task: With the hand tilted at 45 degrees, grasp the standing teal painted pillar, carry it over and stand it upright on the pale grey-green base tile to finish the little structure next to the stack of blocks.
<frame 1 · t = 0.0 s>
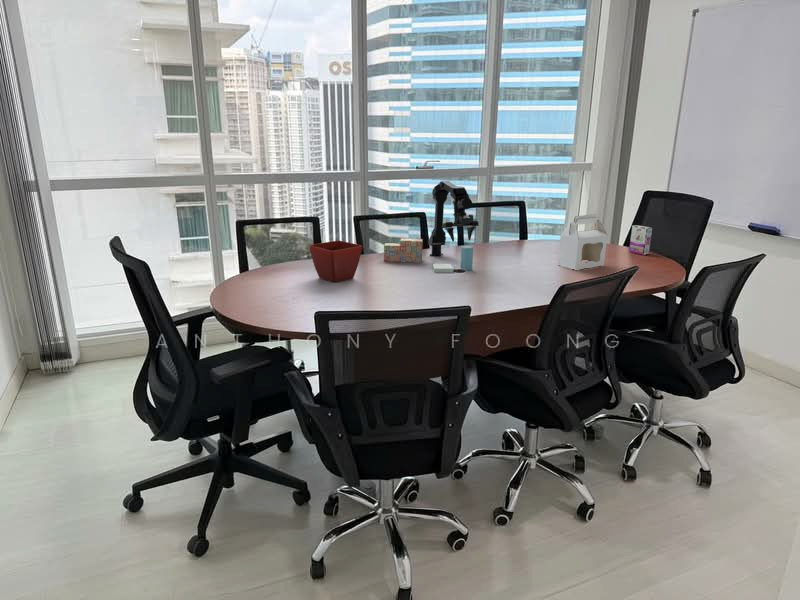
hand: (461, 240, 301), 15 cm above the table, tool pointing down, fingers open, 9 cm apart
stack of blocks: (403, 261, 324), on the table
gable box: (580, 266, 315), on the table
candy bar box: (638, 253, 346), on the table
base tile: (442, 269, 304), on the table
plant pot: (336, 278, 287), on the table
teal pillar: (466, 269, 307), on the table
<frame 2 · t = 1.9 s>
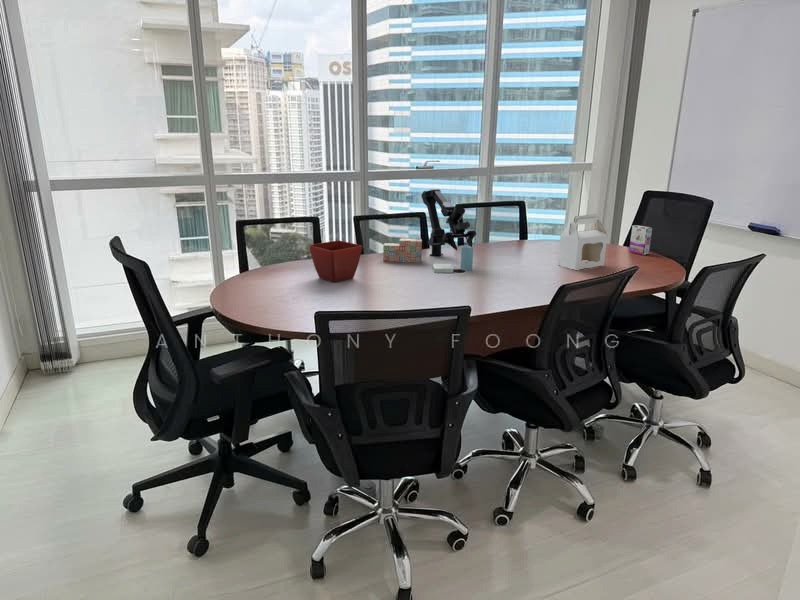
hand: (464, 249, 306), 10 cm above the table, tool tilted 45°, fingers open, 9 cm apart
nothing on the table moved.
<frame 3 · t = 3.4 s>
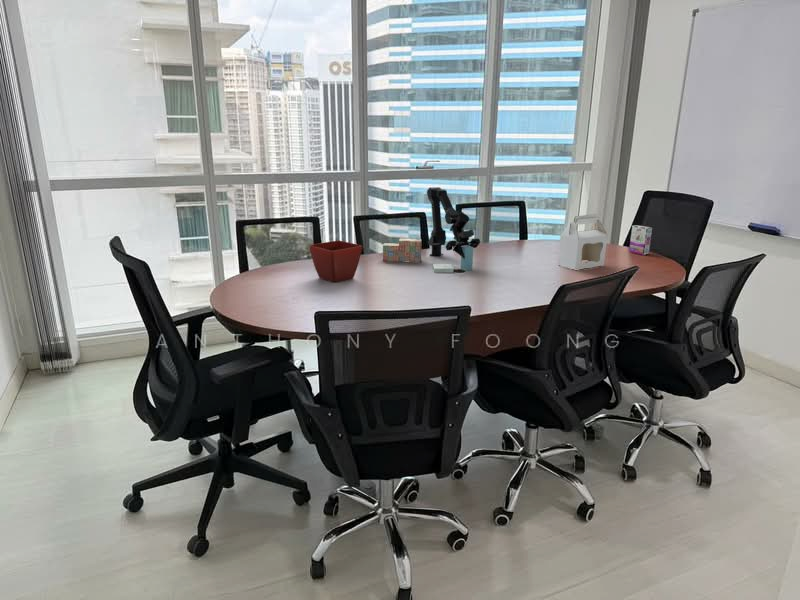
hand: (468, 257, 303), 7 cm above the table, tool tilted 45°, fingers closed on teal pillar, 4 cm apart
teal pillar: (466, 268, 307), on the table, touching gripper
everything else where it was.
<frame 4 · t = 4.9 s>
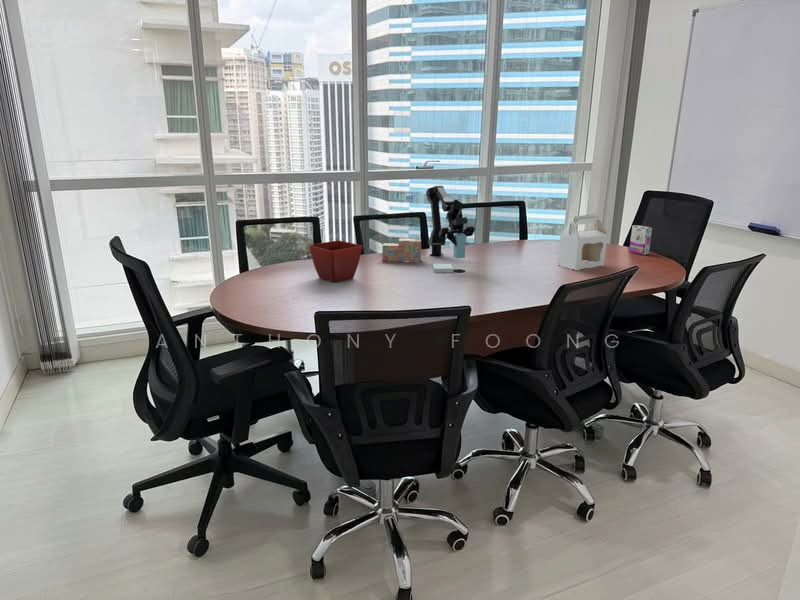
hand: (460, 245, 300), 13 cm above the table, tool tilted 45°, fingers closed on teal pillar, 4 cm apart
teal pillar: (459, 257, 303), point 7 cm above the table, touching gripper
everything else where it was.
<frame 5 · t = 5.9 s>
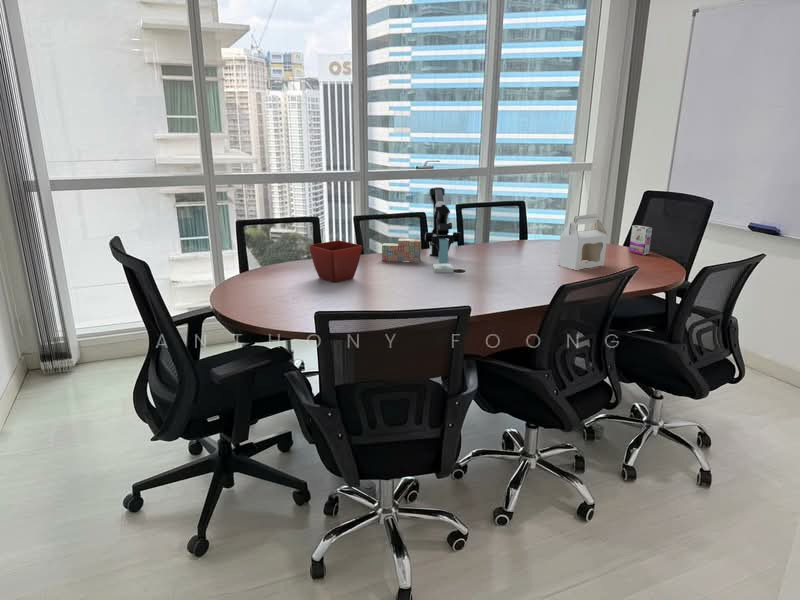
hand: (443, 250, 300), 11 cm above the table, tool tilted 45°, fingers closed on teal pillar, 4 cm apart
teal pillar: (443, 262, 303), point 4 cm above the table, touching gripper
when the fingers open (9 cm above the table, at t = 6.4 s): teal pillar stays where it is, resting on base tile.
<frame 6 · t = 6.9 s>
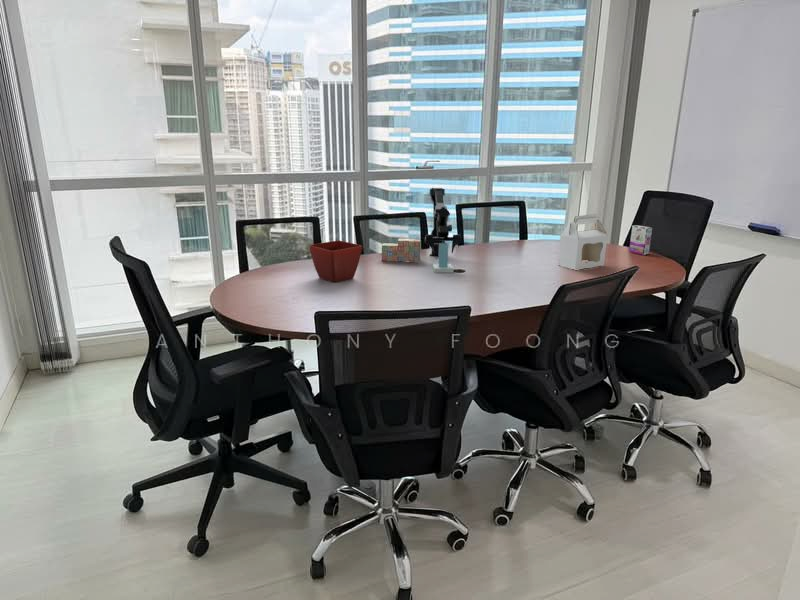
hand: (443, 252, 300), 10 cm above the table, tool tilted 45°, fingers open, 9 cm apart
teal pillar: (442, 266, 304), point 2 cm above the table, touching base tile
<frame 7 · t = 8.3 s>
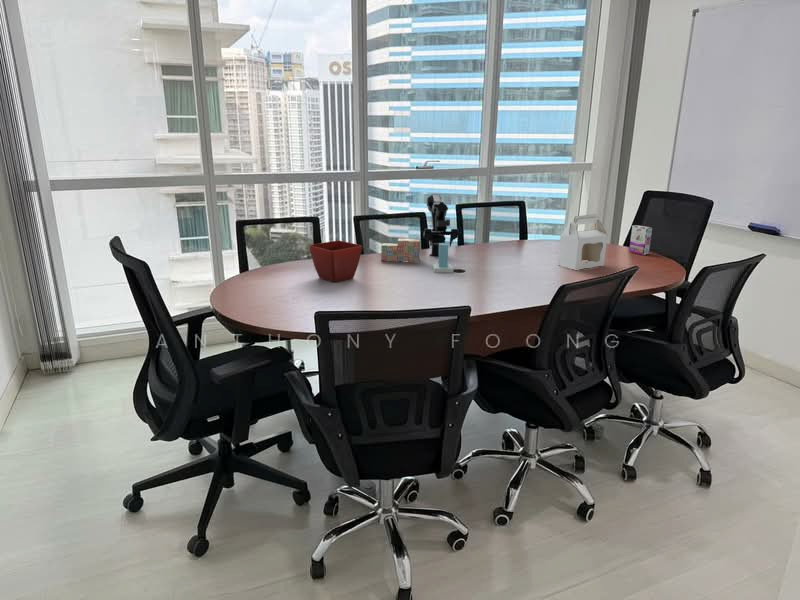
hand: (441, 246, 310), 11 cm above the table, tool tilted 45°, fingers open, 9 cm apart
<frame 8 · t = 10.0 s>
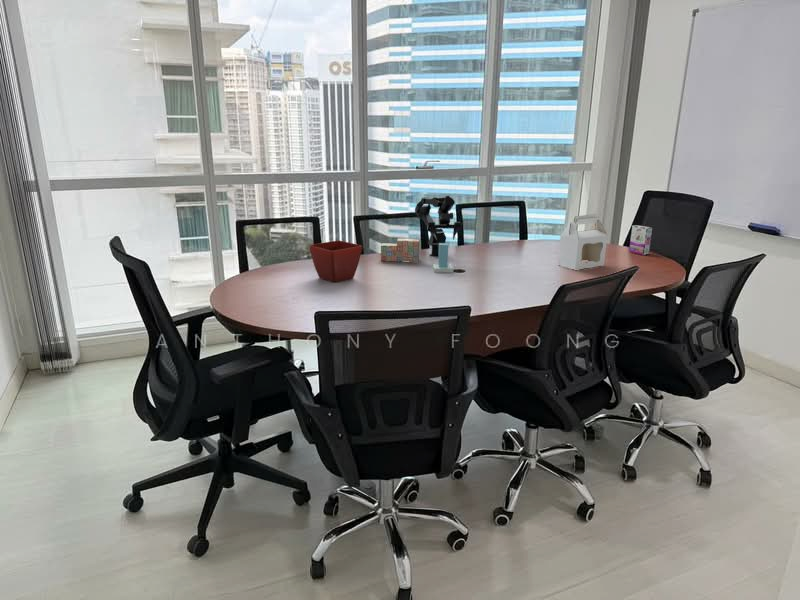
hand: (445, 239, 314), 14 cm above the table, tool tilted 45°, fingers open, 9 cm apart
at the end: teal pillar inside the target area on the base tile (0.0 cm from its centre), point 2.0 cm above the base tile's base; teal pillar tilted 0°; the gripper is holding nothing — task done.
